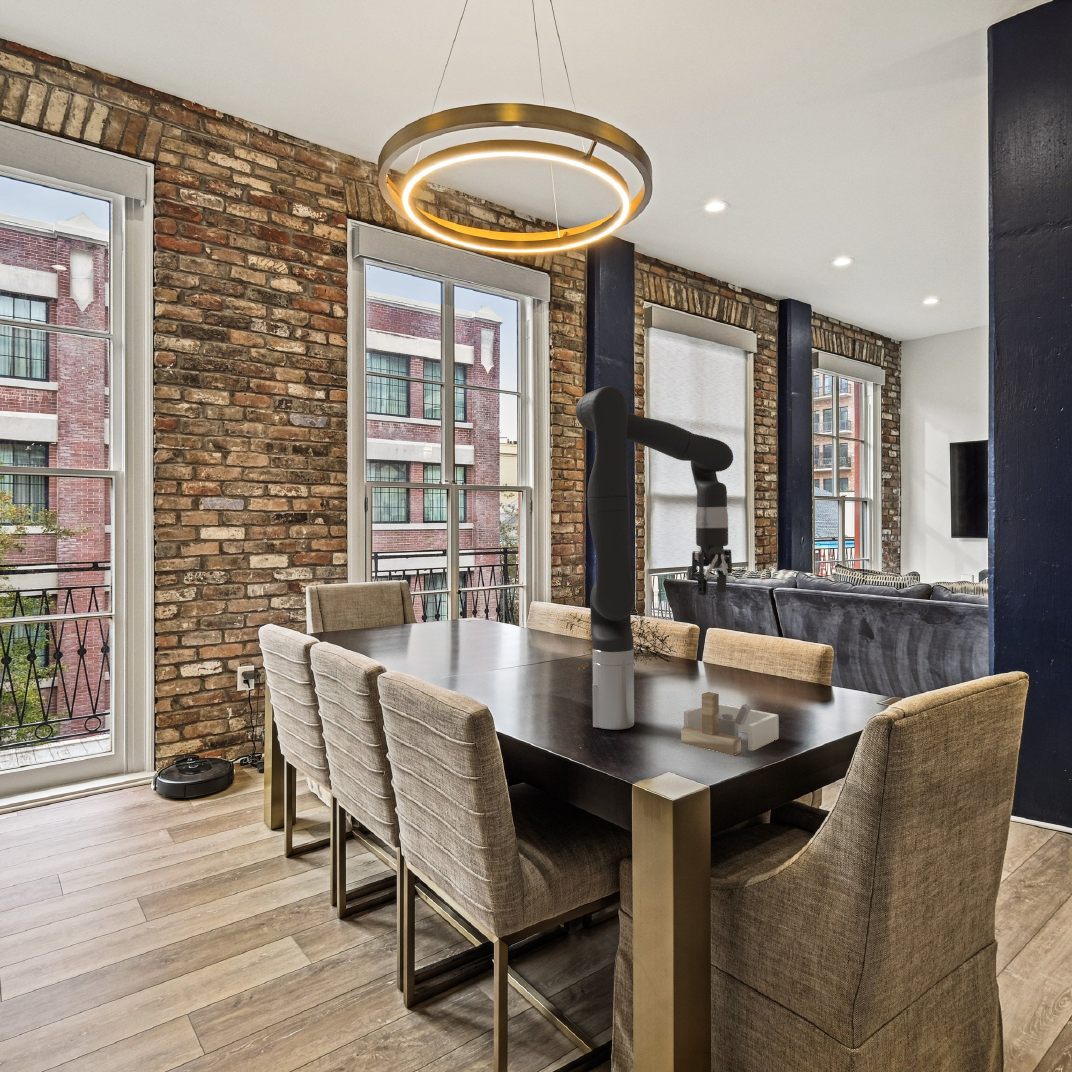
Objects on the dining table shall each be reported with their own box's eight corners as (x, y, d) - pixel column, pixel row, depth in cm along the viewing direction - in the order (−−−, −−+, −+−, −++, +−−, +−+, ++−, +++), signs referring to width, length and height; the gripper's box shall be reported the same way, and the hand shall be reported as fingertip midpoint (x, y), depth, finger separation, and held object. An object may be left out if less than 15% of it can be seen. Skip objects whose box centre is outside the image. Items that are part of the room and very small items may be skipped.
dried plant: (671, 607, 234) (548, 553, 221) (719, 629, 204) (581, 568, 191) (632, 694, 233) (507, 645, 221) (675, 729, 204) (534, 674, 191)
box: (752, 750, 145) (752, 726, 145) (684, 734, 156) (683, 711, 156) (778, 738, 153) (778, 714, 153) (711, 724, 164) (711, 701, 164)
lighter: (716, 738, 154) (716, 700, 154) (721, 736, 155) (720, 698, 155) (747, 745, 149) (747, 706, 149) (751, 743, 150) (751, 704, 150)
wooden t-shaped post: (733, 756, 143) (732, 700, 142) (681, 743, 151) (680, 690, 151) (741, 752, 145) (740, 697, 144) (689, 740, 153) (689, 687, 153)
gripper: (709, 526, 168) (710, 597, 168) (741, 525, 178) (741, 592, 178) (682, 526, 173) (682, 595, 173) (713, 525, 183) (714, 590, 183)
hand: (712, 593), depth 176 cm, fingers open, 8 cm apart
